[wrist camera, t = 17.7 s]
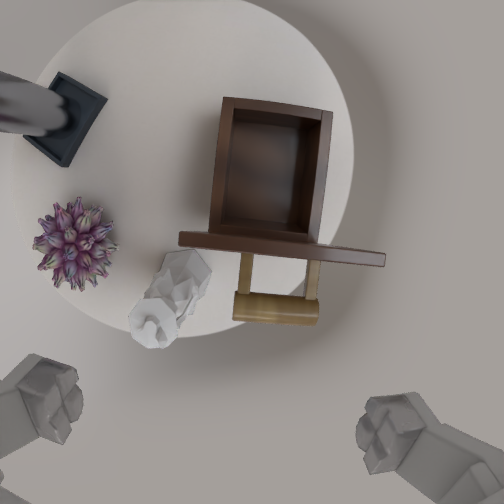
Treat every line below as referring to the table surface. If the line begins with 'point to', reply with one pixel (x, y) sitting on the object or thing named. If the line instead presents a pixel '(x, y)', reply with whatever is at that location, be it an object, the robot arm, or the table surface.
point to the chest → (270, 170)
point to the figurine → (169, 299)
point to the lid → (275, 305)
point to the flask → (36, 109)
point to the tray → (90, 109)
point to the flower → (75, 244)
